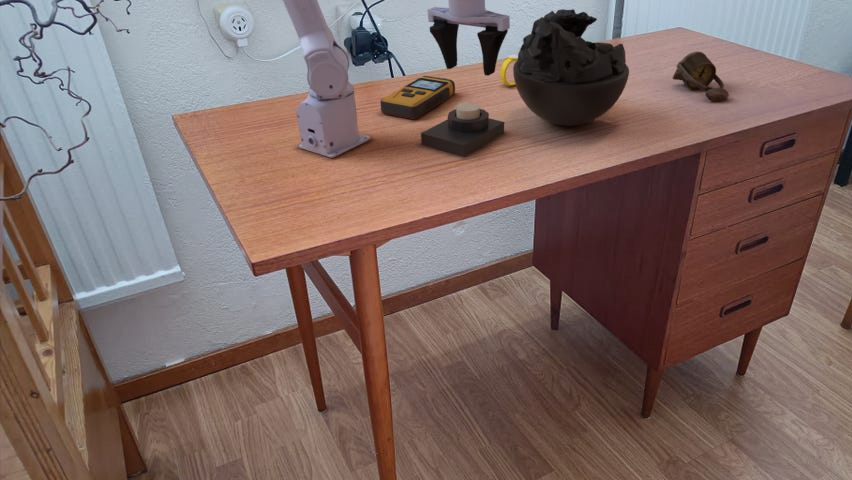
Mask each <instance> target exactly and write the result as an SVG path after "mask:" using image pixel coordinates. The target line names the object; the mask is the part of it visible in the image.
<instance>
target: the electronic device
mask: <svg viewBox="0 0 852 480" xmlns="http://www.w3.org/2000/svg"><path fill="white" fill-rule="evenodd" d="M455 92H456V84H455V82H454V80H452V79H448V78H443V77H436V76H430V75H422V76H420V77H419V78H417V79H415V80H413V81H411V82H410V83H408V84H406V85H405V86H403V87H401V88H399V89H397V90H395V91H394V92H392V93H390V94H388V95H386V96H385V97H383V98H382V99H380V102H379V103H380V104H379V105H380V111H381V113H382V114H385V115H390V116H395V117H400V118H405V119H411V120H416V119H418V118H420V117H421V116H423V115H424V114H426V113H427V112H429V111H431V110H432V109H434V108H436V107H438V105H440V104H441V103H444V102H445V101H447V100H448V99H449V98H451V97H452V96H454V95H455V94H456V93H455Z"/></svg>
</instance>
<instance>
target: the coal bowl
mask: <svg viewBox="0 0 852 480" xmlns="http://www.w3.org/2000/svg"><path fill="white" fill-rule="evenodd" d="M597 21H598V18H597V17H594V16H592V15H589V14H588V13H587V12H585V11H582V12H581V11H580V12H579V13H576V10H575V9H574V8H572V9H563V8H561V9H557V11H556V12H554V10H551V11H550V12H548V13H545V14H544V16H541V17H540V18H537V19H536V20H535V21H533V25H532V28H531V33H529V34H527V35H525V36H524V37H523V39H522V42H523V43H522V45H521V46H520V48H519V51H518V54H517V55H518V60H517V61H514V64H513V67H512V73H513V79H514V82H515V84H516V85H515V87H516V90H517V93H518V94H519V96H520V98H521V100H522V101H523V103H524V104H525V105H526V107H527V108H528V109H529V110H530V111H531V112H532V113H533V114H534V115H536V116H537V117H539V118H540V119H542V120H544V121H546V122H548V123H551V124H554V125H559V126H567V127H568V126H569V127H571V126H573V127H574V126H579V125H580V126H581V125H584V124H588V123H590V122H593V121H594V120H597V119H599V118H600V117H602V116H603V115H605V114H606V113H607V112H608V111H610V110H611V109H612V107H614V105H616V103H617V101H619V99H620V97H621V96H622V94H623V92H624V91H625V87H626V85H627V83H628V80H629V75H630V67H629V66H628V65H627V64H626V62H627V59H626V50H625V47H624V44H623V43H618V44H617V45H615V46H614V45H613V44H612V43H609V42H592V41H588V40H585V39H584V38H583V37H582V36H583V34H584V33H585V32H586V30H587V29H588V27H589V26H591V25H593V24H594V23H595V22H597Z"/></svg>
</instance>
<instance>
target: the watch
mask: <svg viewBox="0 0 852 480" xmlns="http://www.w3.org/2000/svg"><path fill="white" fill-rule="evenodd" d="M517 60H518V54H508V55H507V58H506V59H505V60H504V62H503V64H502V65H501V67H500V73H499V75H500V81H501V83H503V85H505V86H506V87H513V86H516V84H515V81H513V82H508V80H507V77H506V75H507V69H508V68H509V65H510V64H511V63H512V62H516V61H517Z"/></svg>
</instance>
